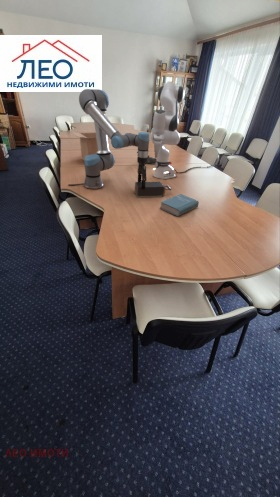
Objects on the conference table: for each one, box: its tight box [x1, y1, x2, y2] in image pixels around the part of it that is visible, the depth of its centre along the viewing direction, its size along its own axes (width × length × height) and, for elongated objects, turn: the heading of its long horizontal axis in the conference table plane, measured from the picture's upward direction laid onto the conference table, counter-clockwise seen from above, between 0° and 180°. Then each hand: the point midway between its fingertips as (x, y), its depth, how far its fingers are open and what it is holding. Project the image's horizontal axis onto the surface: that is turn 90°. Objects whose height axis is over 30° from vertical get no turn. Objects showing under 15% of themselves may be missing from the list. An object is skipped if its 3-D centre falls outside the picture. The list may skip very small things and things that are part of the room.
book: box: [159, 193, 200, 217], centre depth 155 cm, size 23×16×5 cm
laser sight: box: [147, 154, 157, 165], centre depth 240 cm, size 10×22×10 cm, turn 78°
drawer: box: [161, 182, 172, 196], centre depth 173 cm, size 24×10×6 cm, turn 102°
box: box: [70, 129, 109, 161], centre depth 229 cm, size 44×36×27 cm
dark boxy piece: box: [134, 181, 165, 198], centre depth 172 cm, size 20×11×8 cm, turn 102°
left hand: (141, 186), depth 169 cm, fingers open, 13 cm apart
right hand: (155, 156), depth 169 cm, fingers open, 8 cm apart
